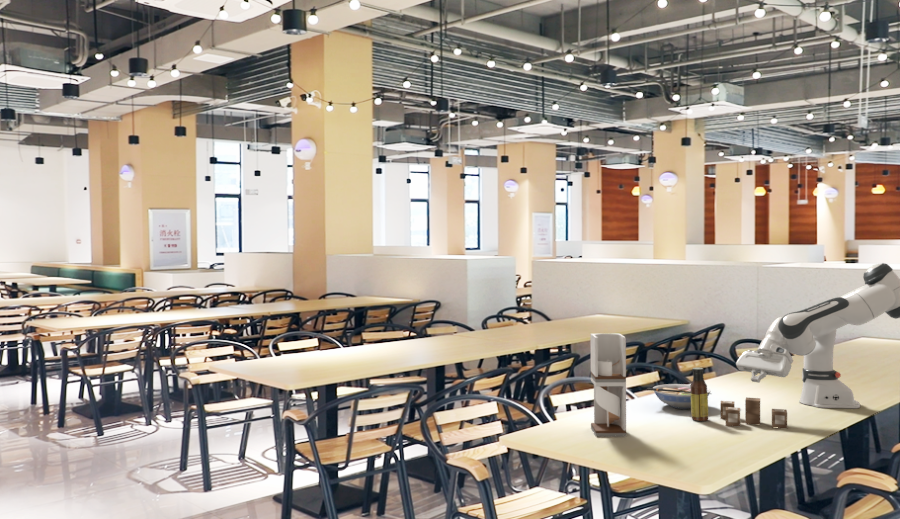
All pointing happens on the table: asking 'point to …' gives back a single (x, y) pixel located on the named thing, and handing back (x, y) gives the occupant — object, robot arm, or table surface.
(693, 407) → the sauce bottle
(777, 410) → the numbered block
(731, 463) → the table surface
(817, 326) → the robot arm
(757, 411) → the plain block
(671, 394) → the ramen bowl
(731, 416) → the white-paneled wooden block
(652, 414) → the table surface
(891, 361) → the table surface
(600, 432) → the spiral tower model
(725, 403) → the white paneled block
